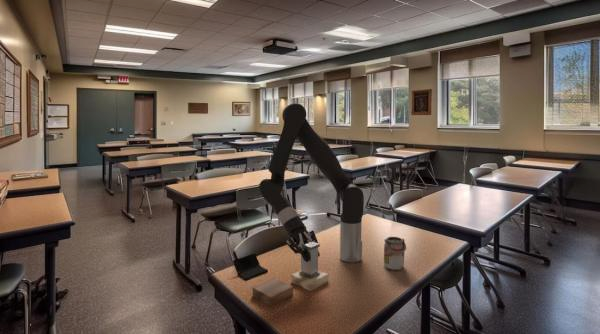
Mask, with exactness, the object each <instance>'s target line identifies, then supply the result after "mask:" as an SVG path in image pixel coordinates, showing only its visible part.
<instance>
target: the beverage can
mask: <svg viewBox="0 0 600 334" xmlns="http://www.w3.org/2000/svg"><path fill="white" fill-rule="evenodd" d="M406 250H407V245H406V243H405V239H404V238H401V237H398V236H388V237H387V238H386V239H384V244H383V266H384V267H385V268H386V269H387V270H389V269H390V270H389V271H394V270H397V271H401V270H403V268H404V267H405V252H406Z"/></svg>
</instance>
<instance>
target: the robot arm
mask: <svg viewBox="0 0 600 334" xmlns="http://www.w3.org/2000/svg"><path fill="white" fill-rule="evenodd" d="M281 116H282V120H283V127H282V131H281V133H280V137H279V139H278V141H277V143H276V146H275V148H274V151H273V153H272V156H271V159H270V162H269V165H268V172H269V173H271V174H270V175H271V176H270V178H265V179H262V180H261V181H260V182H259V185H258V189H259V192H260V195H261V196H262V197H263V199H264V200H265V201H266V202H267V203H268V204H269V205H270V206H271V208H272V209H273V210H274V212H275V215H276V216H277V218H278V222H280V224H281V226H282V228H283V229H284V232H285V233H286V234H287V236H289V238H288V239H287V240H286V241H285V244H286V245H287V246H288V248H290V250H291V251H293V253H294V254H295V255H297V254H299V255H300V257H301V256H302V257H303V259H304V260H305V261H306V262H309V261H310V257H309V255H308V254H307V252H306V251H305V249H304V247H303V245H304V243H303V242H307V241H309V242H311V241H312V242H315V243H318V244H319V241H318V239H317V236H316V232H315V231H314V230H313V229H312V230H311V231H308V230H307V229H306V228H305V224H304V222H303V220H302V219H301V217H300V216H299V214H298V212H297V210H296V209H295V208H294V207H293V205H292V204H291V202H290V200H289V198H287V197H286V196H285V195H282V192H283V190H284V186H285V185H284V184H285V177H286V176H285V173H286V170H287V167H288V163H289V160H290V158H291V154H292V150H293V148H294V144H295V142H296V140H297V138H298V139H299V141H300V142H301V144H302V146H303V148H304V149H305V152H307V154H308V155H309V158H311V160H312V162H313V163H314V165H316V167H317V168H318V170H319V171H320V172H321V173H322V174H323V175H324V177H326V179H327V180H328V181H329V182H330V183H331V185H332V186H333V188H334V190H335V191H336V193H337V195H338V197H339V199H340V200H341V203H342V204H341V206H342V207H341V208H342V209H341V213H340V217H339V218H340V219H339V220H340V221H339V222H340V224H339V225H340V227H339V228H340V229H339V258H340V261H342V262H346V263H357V262H363V239H362V224H363V223H362V221H363V220H362V219H363V216H364V205H365V203H364V202H365V198H364V196H365V195H364V192H363V190H362V188H360V187H359V186H357V185H356V184H354V182H352V180H351V179H350V178H349V177H348V175H347V174H346V173H345V172H344V170H343V168H342V166H341V162H340V161H339V159H338V157H337V155H336V153H335V152H334V150H333V149H332V148H331V146H330V145H329V144H328V142H327V141H326V140H324V138H323V137H321V135H319V134H318V132H316V131H315V130H314V129H313V128H312V126H311V125H310V123H309V121H308V119H307V110H306V108H305V107H304V106H303V104H301V103H298V102H294V103H290V104H288V105H287V106H286V107H284V109H283V111H282V115H281ZM299 243H300V244H299ZM320 254H321V253H320V252H319V250H318V258H320V256H321V255H320Z"/></svg>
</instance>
